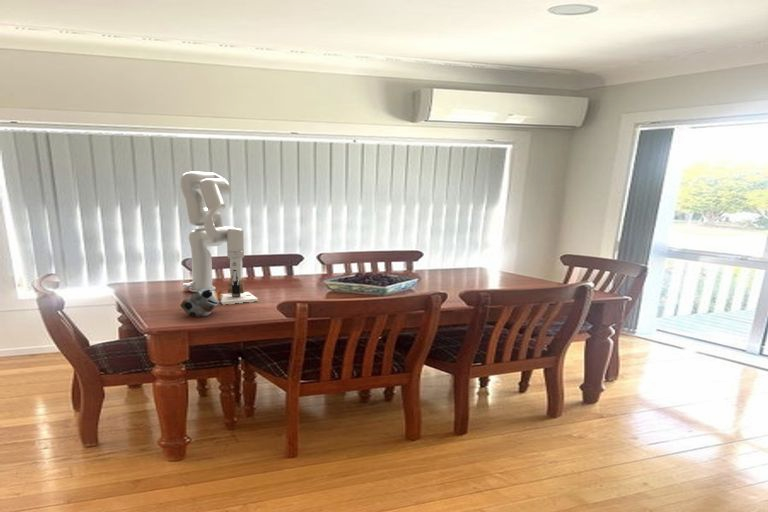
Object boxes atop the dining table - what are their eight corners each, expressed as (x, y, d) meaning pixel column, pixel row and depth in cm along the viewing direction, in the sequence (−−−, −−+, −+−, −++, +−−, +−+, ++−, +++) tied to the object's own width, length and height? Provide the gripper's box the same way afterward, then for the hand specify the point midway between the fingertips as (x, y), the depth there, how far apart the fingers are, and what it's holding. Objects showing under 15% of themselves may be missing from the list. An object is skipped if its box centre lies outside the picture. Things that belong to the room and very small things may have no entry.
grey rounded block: (204, 307, 225) (219, 281, 223) (217, 323, 219) (232, 296, 216) (174, 304, 213) (189, 276, 211) (187, 320, 207) (202, 291, 204)
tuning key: (242, 297, 240) (242, 284, 239) (227, 296, 240) (227, 283, 239) (247, 292, 250) (247, 280, 249) (233, 292, 250) (233, 279, 249)
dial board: (223, 305, 232) (222, 301, 231) (215, 297, 245) (215, 294, 245) (257, 301, 240) (257, 298, 239) (248, 294, 253) (248, 291, 253)
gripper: (242, 256, 232) (242, 296, 235) (245, 251, 248) (246, 288, 251) (225, 256, 231) (225, 296, 233) (229, 251, 247) (230, 289, 249)
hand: (236, 292), depth 242 cm, fingers closed on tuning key, 3 cm apart
